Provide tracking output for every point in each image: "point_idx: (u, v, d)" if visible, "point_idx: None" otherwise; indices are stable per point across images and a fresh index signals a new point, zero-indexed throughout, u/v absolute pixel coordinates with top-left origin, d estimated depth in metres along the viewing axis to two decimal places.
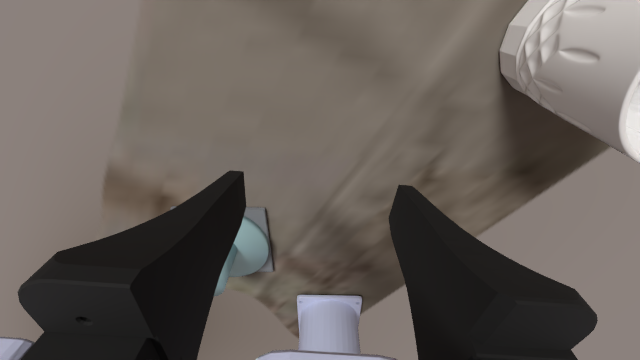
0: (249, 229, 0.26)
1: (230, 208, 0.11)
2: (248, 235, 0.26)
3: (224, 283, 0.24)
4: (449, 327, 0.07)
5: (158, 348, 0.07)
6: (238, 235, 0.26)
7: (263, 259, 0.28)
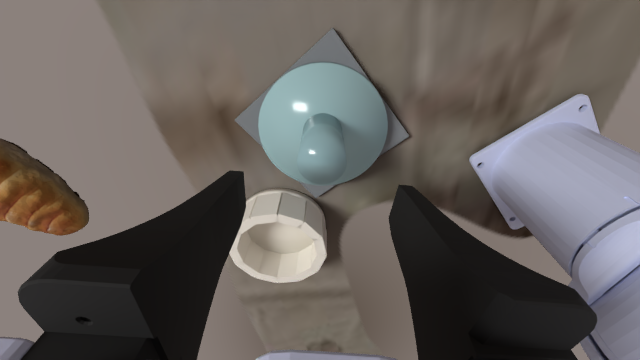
0: (332, 70, 0.17)
1: (230, 208, 0.11)
2: (337, 84, 0.17)
3: (340, 146, 0.15)
4: (449, 327, 0.07)
5: (158, 348, 0.07)
6: (325, 94, 0.17)
7: (381, 114, 0.18)
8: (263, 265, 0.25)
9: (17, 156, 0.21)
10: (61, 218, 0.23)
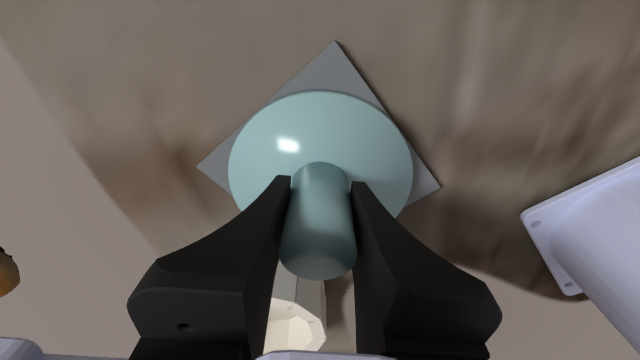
0: (334, 104, 0.11)
1: (283, 212, 0.11)
2: (341, 123, 0.12)
3: (346, 230, 0.09)
4: (373, 322, 0.07)
5: (246, 354, 0.07)
6: (324, 136, 0.12)
7: (405, 163, 0.13)
8: None
9: None
10: None
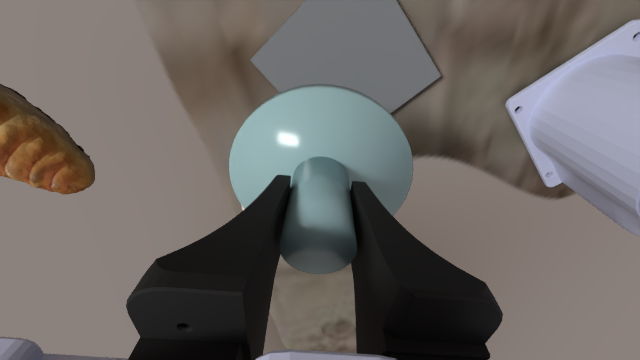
0: (335, 99, 0.11)
1: (283, 212, 0.11)
2: (342, 118, 0.12)
3: (347, 224, 0.09)
4: (373, 322, 0.07)
5: (246, 354, 0.07)
6: (325, 131, 0.12)
7: (405, 159, 0.13)
8: None
9: (15, 101, 0.19)
10: (65, 171, 0.21)
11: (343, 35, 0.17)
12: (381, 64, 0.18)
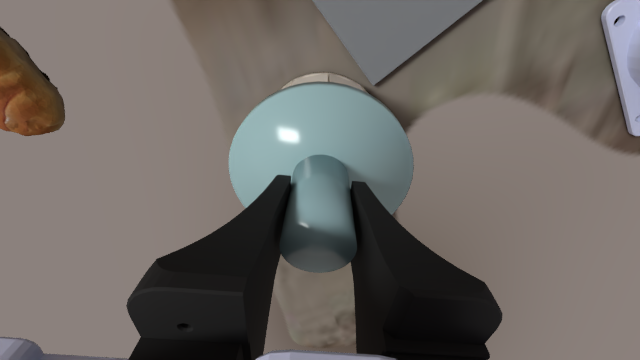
0: (336, 97, 0.11)
1: (283, 212, 0.11)
2: (343, 116, 0.11)
3: (347, 224, 0.09)
4: (373, 322, 0.07)
5: (246, 354, 0.07)
6: (325, 129, 0.12)
7: (406, 158, 0.13)
8: None
9: None
10: (22, 99, 0.16)
11: None
12: None
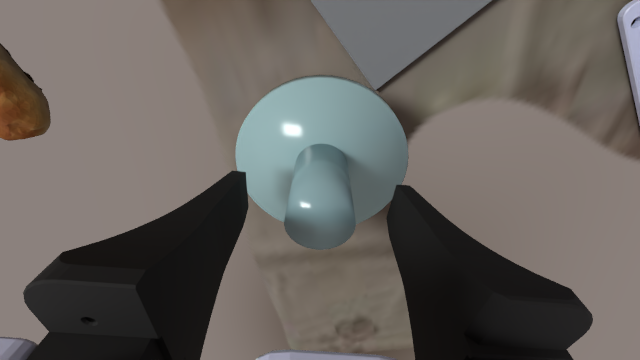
0: (336, 88, 0.12)
1: (233, 208, 0.11)
2: (342, 106, 0.12)
3: (346, 201, 0.10)
4: (445, 327, 0.07)
5: (162, 348, 0.07)
6: (326, 119, 0.13)
7: (401, 146, 0.14)
8: None
9: None
10: (2, 101, 0.15)
11: None
12: None
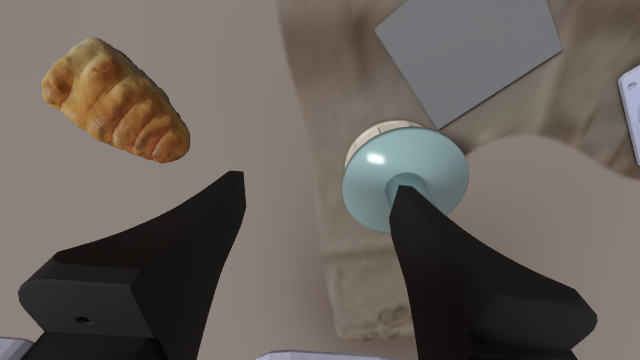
0: (425, 137, 0.17)
1: (230, 208, 0.11)
2: (427, 148, 0.18)
3: None
4: (449, 327, 0.07)
5: (158, 348, 0.07)
6: (414, 156, 0.18)
7: (464, 174, 0.19)
8: None
9: (125, 62, 0.19)
10: (170, 136, 0.20)
11: (474, 5, 0.17)
12: (505, 36, 0.18)
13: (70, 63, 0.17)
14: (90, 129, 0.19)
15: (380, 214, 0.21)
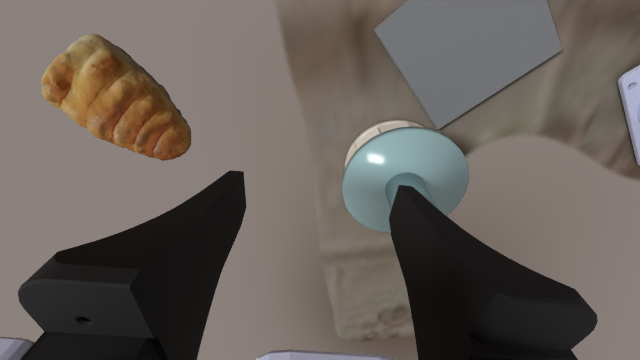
0: (425, 137, 0.17)
1: (230, 208, 0.11)
2: (427, 148, 0.18)
3: None
4: (449, 327, 0.07)
5: (158, 348, 0.07)
6: (414, 156, 0.18)
7: (464, 174, 0.19)
8: None
9: (125, 58, 0.18)
10: (171, 132, 0.20)
11: (474, 5, 0.17)
12: (505, 36, 0.18)
13: (69, 59, 0.17)
14: (91, 126, 0.19)
15: (380, 214, 0.21)
